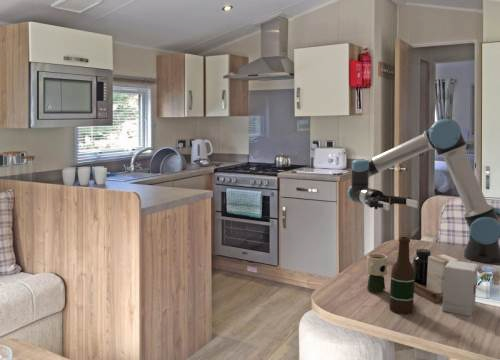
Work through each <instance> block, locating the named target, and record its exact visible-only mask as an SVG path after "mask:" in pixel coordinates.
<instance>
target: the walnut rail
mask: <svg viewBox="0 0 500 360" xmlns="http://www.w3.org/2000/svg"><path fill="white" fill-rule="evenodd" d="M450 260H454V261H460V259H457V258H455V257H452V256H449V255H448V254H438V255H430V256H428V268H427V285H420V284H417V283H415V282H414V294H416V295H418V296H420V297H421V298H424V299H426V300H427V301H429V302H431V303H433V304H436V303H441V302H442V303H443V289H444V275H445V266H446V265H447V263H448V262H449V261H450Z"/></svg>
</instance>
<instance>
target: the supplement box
mask: <svg viewBox="0 0 500 360" xmlns="http://www.w3.org/2000/svg"><path fill="white" fill-rule="evenodd" d="M478 268H479V264H478V263H473V262H472V263H471V262H464V261H460V260H459V261H454V260H450V261H449V262H448V263H447V265H446V266H445V275H444V289H443V302H442V307H441V308H442V309H441V311H443V312H447V313H451V314H455V315H456V314H458V315H461V316H462V315H463V316H467V317H472V316H473V312H474V310H475V308H476V297H477V296H476V295H477V294H476V293H477V281H478Z"/></svg>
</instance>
